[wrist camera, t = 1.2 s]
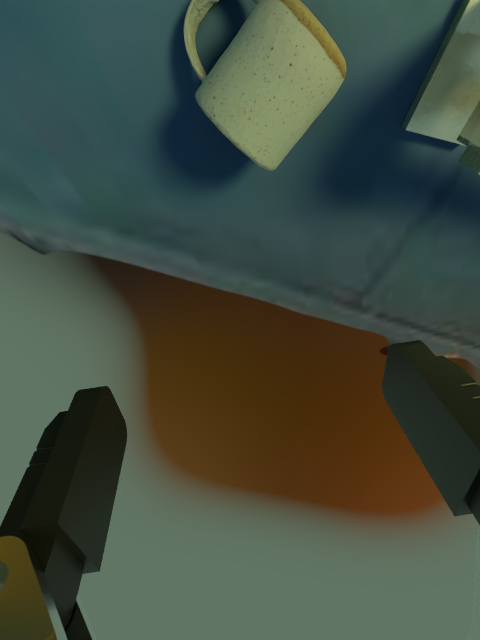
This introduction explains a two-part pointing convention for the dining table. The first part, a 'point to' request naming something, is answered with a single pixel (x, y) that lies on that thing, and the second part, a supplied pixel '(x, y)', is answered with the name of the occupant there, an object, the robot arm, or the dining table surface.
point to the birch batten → (472, 127)
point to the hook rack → (452, 86)
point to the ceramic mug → (267, 77)
